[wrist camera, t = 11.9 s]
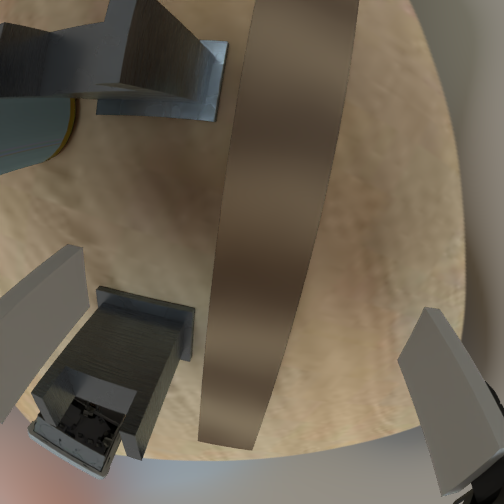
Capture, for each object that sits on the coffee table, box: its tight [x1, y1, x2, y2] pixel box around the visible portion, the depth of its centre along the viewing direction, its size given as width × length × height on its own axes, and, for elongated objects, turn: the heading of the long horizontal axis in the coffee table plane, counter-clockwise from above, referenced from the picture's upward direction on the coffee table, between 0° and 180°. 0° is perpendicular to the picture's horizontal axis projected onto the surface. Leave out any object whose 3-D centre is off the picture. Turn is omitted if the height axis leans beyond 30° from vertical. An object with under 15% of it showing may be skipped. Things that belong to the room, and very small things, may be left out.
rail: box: [198, 0, 359, 450], centre depth 16 cm, size 28×4×4 cm, turn 171°
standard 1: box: [31, 286, 195, 460], centre depth 18 cm, size 5×8×11 cm, turn 81°
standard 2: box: [0, 0, 229, 122], centre depth 11 cm, size 5×8×11 cm, turn 81°
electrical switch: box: [28, 396, 125, 479], centre depth 25 cm, size 9×5×9 cm, turn 60°
